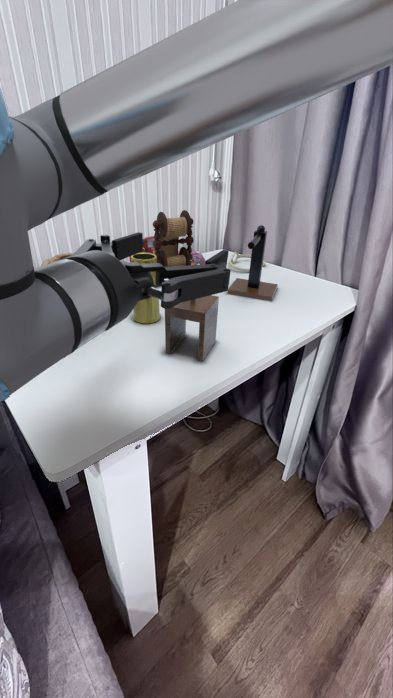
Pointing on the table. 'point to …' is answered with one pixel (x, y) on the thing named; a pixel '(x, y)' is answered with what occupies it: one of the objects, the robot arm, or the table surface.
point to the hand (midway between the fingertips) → (180, 250)
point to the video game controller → (196, 258)
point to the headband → (236, 260)
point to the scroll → (173, 239)
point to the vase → (149, 308)
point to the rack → (255, 272)
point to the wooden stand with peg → (194, 311)
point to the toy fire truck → (147, 246)
